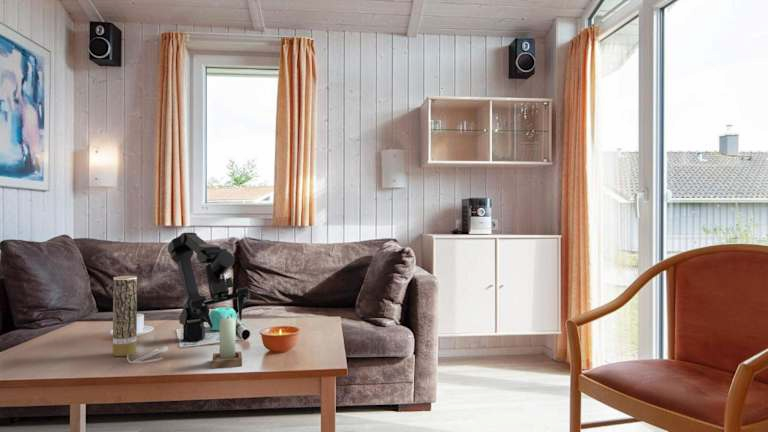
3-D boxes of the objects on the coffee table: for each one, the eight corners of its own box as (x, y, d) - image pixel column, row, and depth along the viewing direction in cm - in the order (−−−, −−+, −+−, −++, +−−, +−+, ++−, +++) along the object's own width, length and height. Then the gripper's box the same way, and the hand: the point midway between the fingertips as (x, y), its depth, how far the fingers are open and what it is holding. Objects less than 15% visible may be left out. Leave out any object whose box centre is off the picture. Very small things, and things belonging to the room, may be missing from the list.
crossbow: (150, 368, 150) (150, 362, 150) (114, 365, 153) (114, 359, 153) (183, 351, 165) (183, 345, 165) (150, 349, 168) (150, 343, 168)
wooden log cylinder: (141, 352, 163) (141, 276, 163) (124, 358, 157) (124, 278, 157) (125, 350, 165) (125, 275, 165) (107, 356, 159) (108, 277, 159)
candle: (218, 362, 149) (219, 318, 149) (220, 358, 154) (220, 315, 154) (234, 361, 150) (235, 317, 150) (235, 357, 155) (236, 314, 155)
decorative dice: (223, 332, 193) (223, 311, 193) (207, 330, 196) (207, 309, 196) (237, 328, 200) (237, 308, 200) (222, 326, 203) (222, 306, 203)
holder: (212, 368, 146) (212, 360, 146) (213, 360, 154) (213, 353, 155) (241, 366, 149) (242, 358, 149) (241, 358, 157) (241, 351, 157)
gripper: (185, 277, 157) (195, 324, 151) (245, 264, 164) (256, 308, 159) (187, 290, 166) (196, 334, 160) (243, 277, 174) (254, 319, 168)
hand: (226, 323), depth 162 cm, fingers open, 9 cm apart
